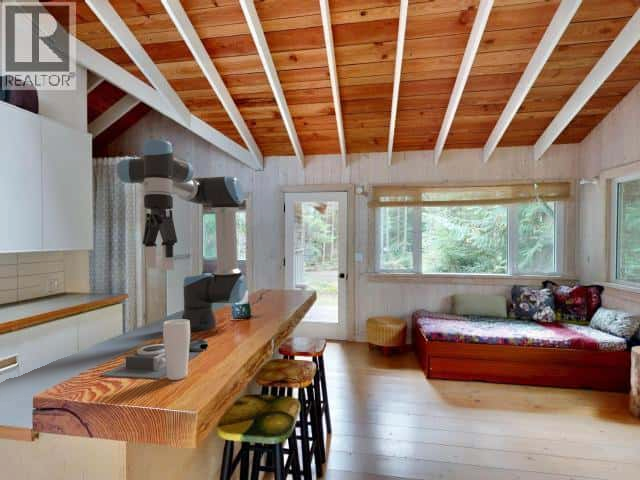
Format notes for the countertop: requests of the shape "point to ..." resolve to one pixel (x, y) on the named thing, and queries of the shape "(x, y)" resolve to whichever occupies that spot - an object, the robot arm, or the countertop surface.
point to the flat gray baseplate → (144, 363)
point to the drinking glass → (176, 347)
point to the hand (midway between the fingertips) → (159, 269)
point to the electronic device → (196, 345)
